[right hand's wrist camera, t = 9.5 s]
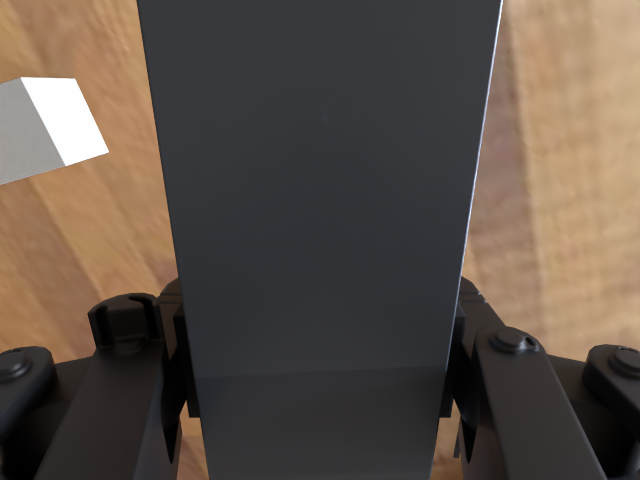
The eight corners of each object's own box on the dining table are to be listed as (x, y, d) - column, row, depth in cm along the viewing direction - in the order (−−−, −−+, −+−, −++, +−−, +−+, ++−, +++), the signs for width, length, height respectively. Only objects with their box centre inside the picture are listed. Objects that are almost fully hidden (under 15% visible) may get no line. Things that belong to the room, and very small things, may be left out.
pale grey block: (74, 78, 26) (20, 76, 21) (109, 152, 27) (66, 165, 23) (8, 99, 26) (-60, 102, 21) (46, 170, 28) (-9, 187, 23)
